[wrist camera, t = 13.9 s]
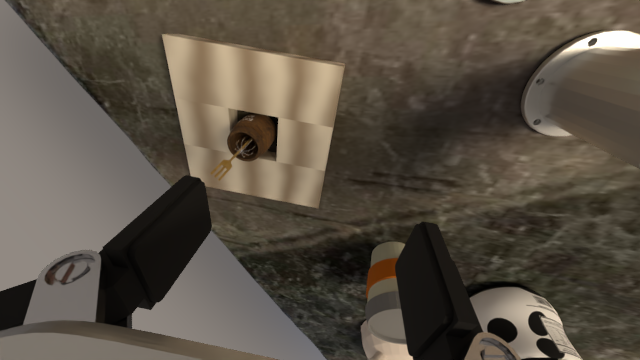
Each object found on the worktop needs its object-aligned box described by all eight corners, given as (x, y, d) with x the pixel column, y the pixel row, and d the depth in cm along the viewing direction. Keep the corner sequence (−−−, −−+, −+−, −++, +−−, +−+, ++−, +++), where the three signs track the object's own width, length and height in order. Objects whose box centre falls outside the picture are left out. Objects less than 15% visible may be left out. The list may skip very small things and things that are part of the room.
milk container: (456, 319, 62) (487, 411, 47) (460, 279, 53) (499, 377, 39) (533, 319, 58) (594, 421, 43) (551, 276, 49) (635, 385, 34)
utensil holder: (284, 130, 39) (260, 166, 29) (262, 152, 42) (232, 191, 32) (257, 103, 37) (220, 131, 27) (235, 128, 40) (195, 162, 30)
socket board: (345, 63, 32) (344, 66, 30) (320, 198, 46) (318, 208, 43) (176, 33, 33) (161, 34, 30) (201, 175, 46) (192, 183, 44)
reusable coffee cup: (390, 279, 57) (400, 351, 44) (351, 254, 54) (350, 324, 41) (435, 256, 50) (460, 332, 38) (393, 226, 47) (407, 298, 35)
